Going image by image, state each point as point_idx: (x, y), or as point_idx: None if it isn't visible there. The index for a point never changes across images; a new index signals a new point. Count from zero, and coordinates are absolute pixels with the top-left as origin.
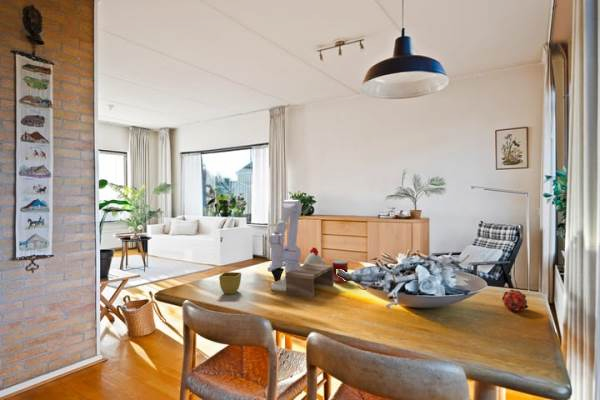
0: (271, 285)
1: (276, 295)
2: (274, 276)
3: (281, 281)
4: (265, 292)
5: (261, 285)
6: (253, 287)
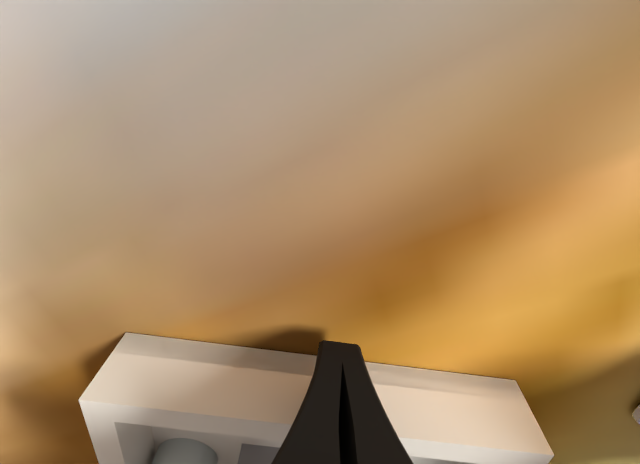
0: (95, 385)
1: (15, 424)
2: (306, 429)
3: None
4: (3, 318)
5: (239, 126)
6: (53, 40)
